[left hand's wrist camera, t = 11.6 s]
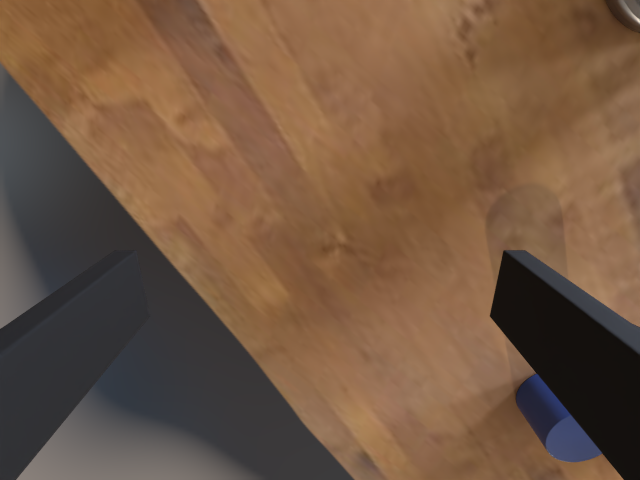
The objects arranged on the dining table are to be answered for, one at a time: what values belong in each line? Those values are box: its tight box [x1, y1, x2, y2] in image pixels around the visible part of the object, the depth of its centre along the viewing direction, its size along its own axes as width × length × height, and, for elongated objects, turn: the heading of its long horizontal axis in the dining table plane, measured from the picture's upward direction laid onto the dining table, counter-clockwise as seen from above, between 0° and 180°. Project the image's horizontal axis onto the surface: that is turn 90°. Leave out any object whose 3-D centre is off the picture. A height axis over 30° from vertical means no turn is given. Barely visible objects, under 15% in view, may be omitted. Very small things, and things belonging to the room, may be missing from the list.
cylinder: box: [516, 374, 602, 462], centre depth 47 cm, size 9×9×7 cm
